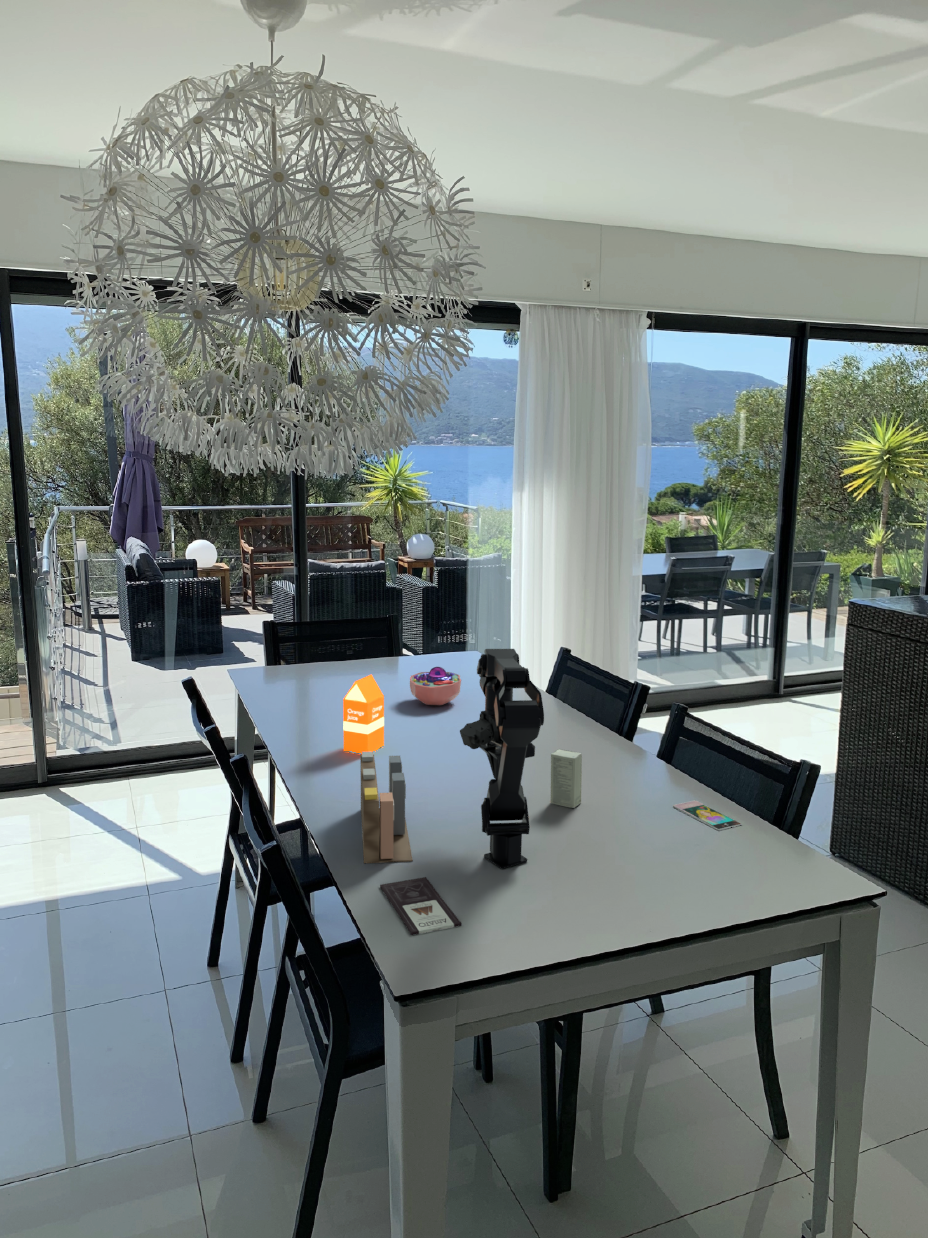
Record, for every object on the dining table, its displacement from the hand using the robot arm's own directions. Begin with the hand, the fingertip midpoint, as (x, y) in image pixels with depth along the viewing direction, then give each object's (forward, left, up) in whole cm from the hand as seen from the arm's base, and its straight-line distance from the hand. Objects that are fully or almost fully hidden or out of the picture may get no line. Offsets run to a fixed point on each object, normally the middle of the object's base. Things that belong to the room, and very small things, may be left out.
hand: (497, 778), depth 191 cm
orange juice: (+63, 0, -12) cm, 64 cm away
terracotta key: (+1, +26, -12) cm, 28 cm away
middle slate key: (+10, +18, -11) cm, 24 cm away
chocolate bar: (-19, +30, -13) cm, 38 cm away
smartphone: (-17, -46, -13) cm, 51 cm away
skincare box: (+5, -23, -12) cm, 27 cm away
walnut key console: (+11, +21, -12) cm, 27 cm away
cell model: (+92, -40, -12) cm, 101 cm away
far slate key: (+20, +14, -11) cm, 27 cm away
